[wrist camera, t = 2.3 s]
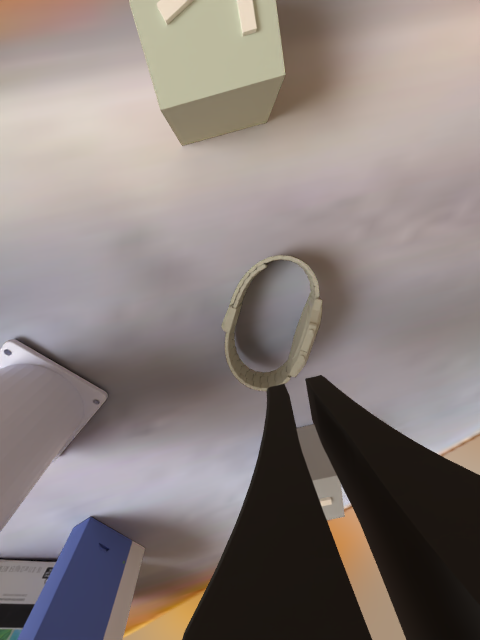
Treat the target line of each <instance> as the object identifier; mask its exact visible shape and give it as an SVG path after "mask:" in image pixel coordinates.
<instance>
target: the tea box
mask: <svg viewBox="0 0 480 640" xmlns="http://www.w3.org/2000/svg"><path fill="white" fill-rule="evenodd" d="M55 563H56V562H41V561H20V560H2V559H0V640H17V639H18V637H19V635H20V633H21V631H22V629H23V627H24V625H25V623H26V621H27V619H28V617H29V615H30V613H31V611H32V609H33V607H34V605H35V603H36V601H37V599H38V597H39V595H40V593H41V591H42V589H43V587H44V585H45V583H46V581H47V579H48V577H49V575H50V573H51V571H52V569H53V567H54V565H55Z"/></svg>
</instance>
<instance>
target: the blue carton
mask: <svg viewBox="0 0 480 640" xmlns="http://www.w3.org/2000/svg"><path fill="white" fill-rule="evenodd" d="M144 551H145V548H144V547H142V546H141V545H139V544H137V543H136V542H134V541H132V540H130V539H129V538H127V537H125V536H123V535H122V534H120V533H118V532H116V531H115V530H113V529H111V528H109V527H108V526H106V525H104V524H103V523H101V522H99V521H97V520H96V519H94V518H92V517H90V518H88V519H86V520H85V521H83V522H82V523H80V524H79V525H77V526H75V527H74V528H73V530H72V532H71V534H70V536H69V538H68V540H67V542H66V544H65V546H64V548H63V550H62V552H61V554H60V555H59V557H58V559H57V561H56V563H55V565H54V567H53V569H52V571H51V573H50V575H49V577H48V579H47V581H46V583H45V585H44V587H43V589H42V591H41V593H40V595H39V597H38V599H37V601H36V603H35V605H34V607H33V609H32V611H31V613H30V615H29V617H28V619H27V621H26V623H25V625H24V627H23V629H22V631H21V633H20V635H19V637H18V639H17V640H122V639H123V635H124V631H125V627H126V623H127V619H128V615H129V611H130V607H131V603H132V599H133V595H134V591H135V587H136V583H137V579H138V575H139V571H140V567H141V563H142V559H143V555H144Z"/></svg>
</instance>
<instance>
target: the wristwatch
mask: <svg viewBox="0 0 480 640" xmlns="http://www.w3.org/2000/svg"><path fill="white" fill-rule="evenodd" d="M274 260H275V261H276V260H289V261H291V262H294V263H297V264H298V265H299V266H300V267H301V268H303V269H304V271H305V273H306V274H307V275H308V279H309V281H310V290H311V292H310V294H309V297H308V300H307V302H306V304H305V307H304V309H303V311H302V314H301V317H300V320H299V323H298V326H297V329H296V332H295V335H294V338H293V343H292V347H291V351H290V354H289V357H288V361H286V362H285V363H284V364H283V366H281V367H280V368H278V369H277V370H274V371H271V372H264V373H263V372H258V371H257V372H256V371H254V370H252V369H249V368H248V367H247V366H246V365H244V363H243V362H242V361H241V359H240V358H239V356H238V354H237V351H236V347H235V340H234V336H235V333H234V331H235V325H236V323H237V320H238V316H239V313H240V310H241V306H242V301H243V298H244V296H245V293H246V291H247V289H248V287H249V285H250V282H251V281H252V280H253V279H254V278H255V276H256V275H257V274H259V273H260V272H261V271H262V270H263V269H265V268H267V267H268V265H267V264H266V263H269V262H272V261H274ZM318 285H319V284H318V282H317V279H316V277H315V274H314V273H313V272H312V270H311V269H310V268H309V266H308V265H307V264H305V263H304V262H301V260H299V259H297V258H294V257H292V256H282V255H279V256H273V257H269V258H266V259H264V260H262V261H260V262H259V263H257V264H256V265H255V266H253V267H252V268H251V269H250V270H249V271H248V272H247V273H246V274H245V275H244V277H243V278H242V279H241V281H240V282H239V284H238V286H237V288H236V290H235V292H234V294H233V296H232V299H231V302H230V303H231V304H230V305H229V308H228V310H227V313H226V315H225V318H224V320H223V323H222V329H223V330H224V331H225V332H226V336H225V340H226V341H225V355H226V359H227V363H228V365H229V368H230V370H231V372H233V375H234V376H235V377H236V379H238V380H239V381H240V382H241V383H242V384H243V385H244V384H245V386H247V387H249V388H250V389H251V388H252V389H254V390H258V391H260V390H261V391H267V389H268V388H269V387H272V386H276V385H281V384H286V383H287V382H288V381H289V380H290V377H291V376H293V377H296V376H297V375H298V373H299V372H300V371H301V370H302V368H303V367H304V366H305V364H306V362H307V360H308V357H309V354H310V351H311V349H312V346H313V343H314V340H315V337H316V335H317V332H318V329H319V326H320V322H321V317H322V300H321V299H320V298H319V295H320V294H319V287H318Z"/></svg>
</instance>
